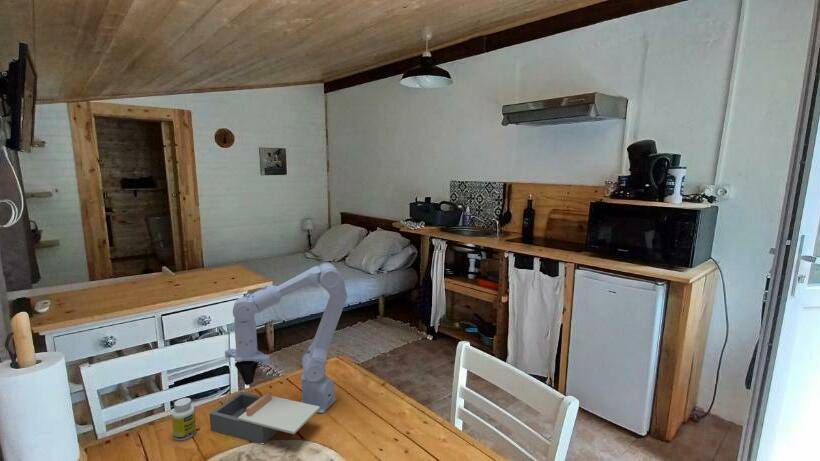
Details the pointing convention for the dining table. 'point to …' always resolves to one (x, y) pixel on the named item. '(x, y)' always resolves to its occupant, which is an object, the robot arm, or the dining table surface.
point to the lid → (278, 413)
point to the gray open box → (229, 424)
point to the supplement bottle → (183, 419)
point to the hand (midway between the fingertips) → (249, 383)
